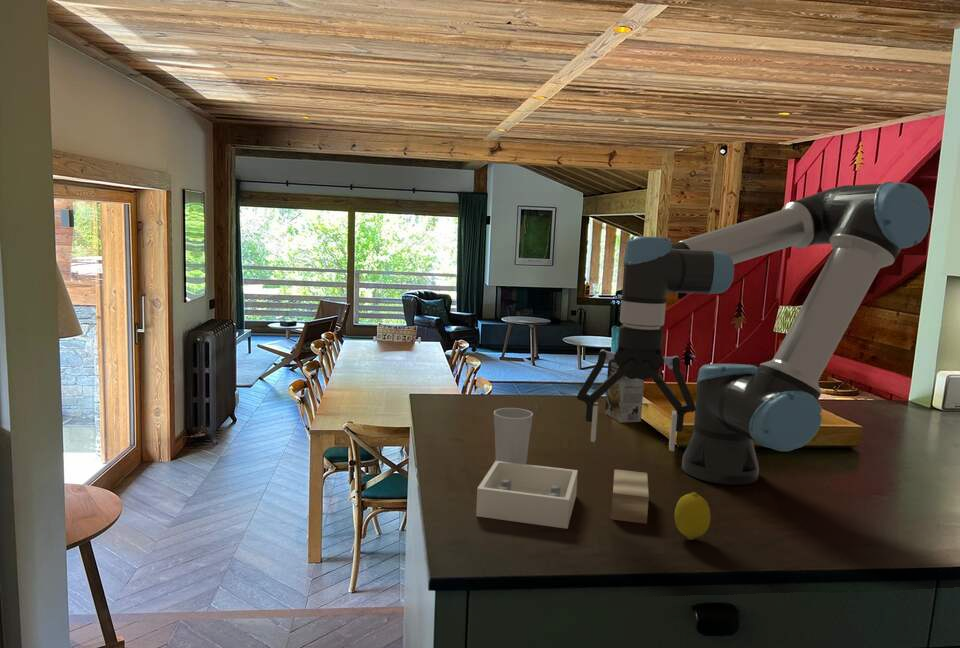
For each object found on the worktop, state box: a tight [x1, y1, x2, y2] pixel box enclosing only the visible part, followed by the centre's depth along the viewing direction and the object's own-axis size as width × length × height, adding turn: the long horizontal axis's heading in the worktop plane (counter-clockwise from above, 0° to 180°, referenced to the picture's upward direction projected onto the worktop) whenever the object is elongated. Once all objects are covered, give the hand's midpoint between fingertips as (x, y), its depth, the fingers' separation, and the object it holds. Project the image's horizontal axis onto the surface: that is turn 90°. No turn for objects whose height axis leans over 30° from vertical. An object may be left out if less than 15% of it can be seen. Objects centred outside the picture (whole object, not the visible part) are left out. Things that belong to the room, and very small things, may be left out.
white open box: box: [475, 460, 579, 530], centre depth 121 cm, size 16×15×5 cm
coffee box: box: [604, 359, 645, 423], centre depth 180 cm, size 9×6×16 cm
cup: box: [493, 407, 534, 464], centre depth 138 cm, size 8×8×12 cm
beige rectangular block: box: [610, 469, 650, 524], centre depth 122 cm, size 12×6×5 cm, turn 168°
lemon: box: [674, 491, 711, 541], centre depth 109 cm, size 6×6×8 cm
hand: (631, 444), depth 120 cm, fingers open, 13 cm apart
